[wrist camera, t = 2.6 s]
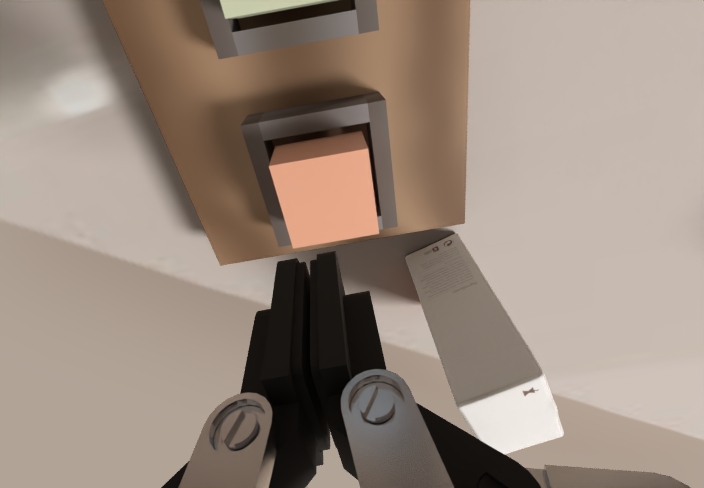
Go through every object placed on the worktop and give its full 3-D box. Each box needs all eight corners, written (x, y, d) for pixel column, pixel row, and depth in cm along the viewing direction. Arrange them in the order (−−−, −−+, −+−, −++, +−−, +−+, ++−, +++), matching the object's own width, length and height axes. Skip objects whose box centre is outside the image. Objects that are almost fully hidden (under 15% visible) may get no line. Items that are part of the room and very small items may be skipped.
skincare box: (402, 256, 26) (454, 406, 16) (456, 230, 25) (548, 372, 15) (430, 308, 29) (490, 462, 19) (480, 287, 28) (569, 436, 18)
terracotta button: (361, 130, 16) (367, 148, 14) (371, 207, 18) (379, 233, 16) (275, 145, 16) (268, 166, 14) (295, 221, 18) (293, 248, 16)
